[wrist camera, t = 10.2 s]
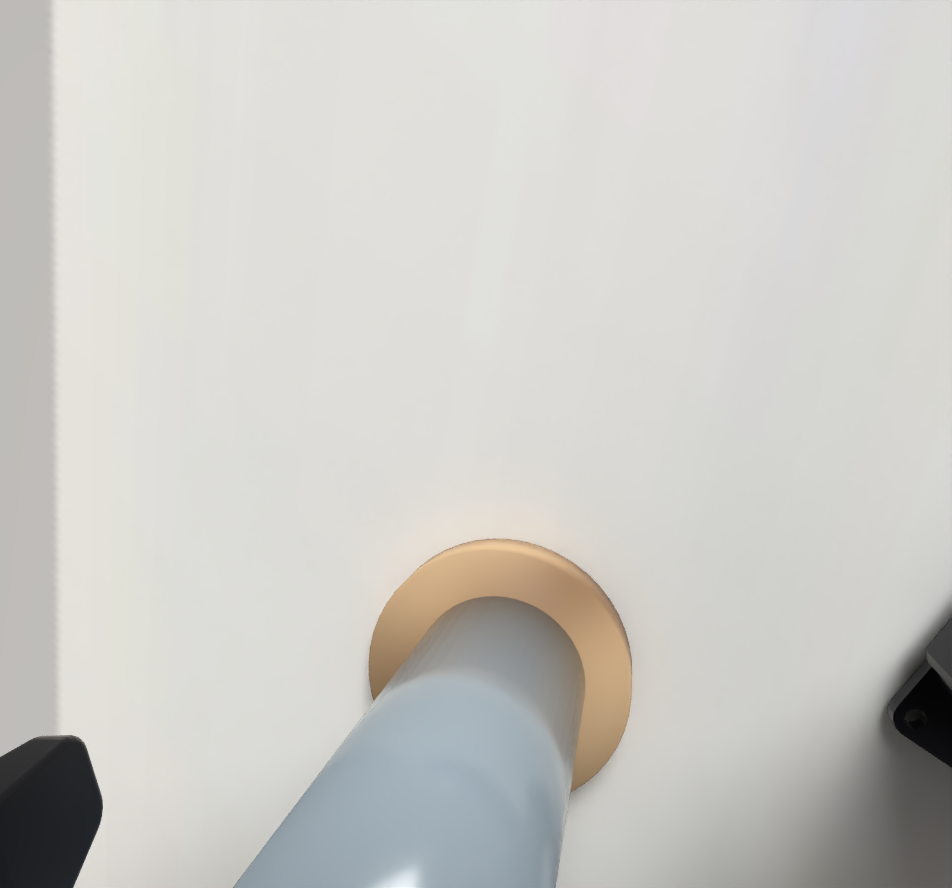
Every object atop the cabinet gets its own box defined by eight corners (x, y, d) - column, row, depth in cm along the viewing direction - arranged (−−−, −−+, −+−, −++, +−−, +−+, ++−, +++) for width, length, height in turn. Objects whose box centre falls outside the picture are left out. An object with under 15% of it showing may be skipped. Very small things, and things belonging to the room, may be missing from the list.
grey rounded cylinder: (622, 685, 19) (602, 1130, 8) (504, 793, 20) (346, 1313, 9) (493, 560, 19) (309, 827, 8) (383, 673, 20) (94, 1039, 9)
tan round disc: (685, 638, 19) (687, 656, 18) (540, 828, 21) (534, 856, 20) (464, 489, 20) (453, 497, 19) (341, 682, 22) (324, 701, 21)
